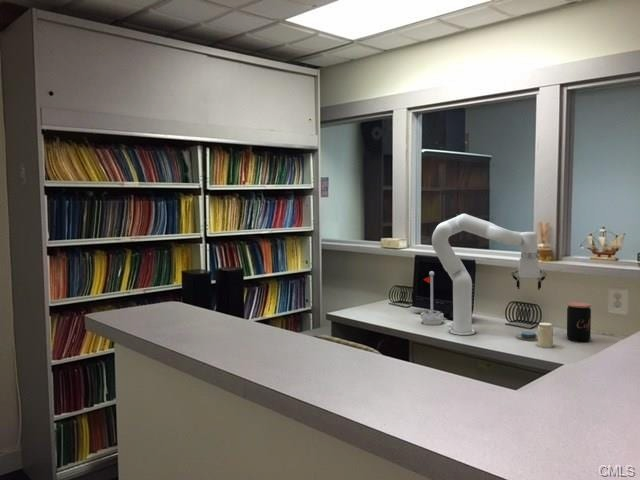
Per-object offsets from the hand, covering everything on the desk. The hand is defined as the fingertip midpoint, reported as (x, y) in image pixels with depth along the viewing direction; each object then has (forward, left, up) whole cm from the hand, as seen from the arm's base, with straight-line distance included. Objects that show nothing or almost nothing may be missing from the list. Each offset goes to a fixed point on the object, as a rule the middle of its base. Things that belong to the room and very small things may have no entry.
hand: (528, 289), depth 276 cm
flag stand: (-54, -2, -24) cm, 59 cm away
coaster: (+2, -6, -24) cm, 25 cm away
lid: (+2, -6, -22) cm, 23 cm away
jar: (+13, -16, -24) cm, 32 cm away
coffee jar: (+23, +4, -24) cm, 34 cm away
